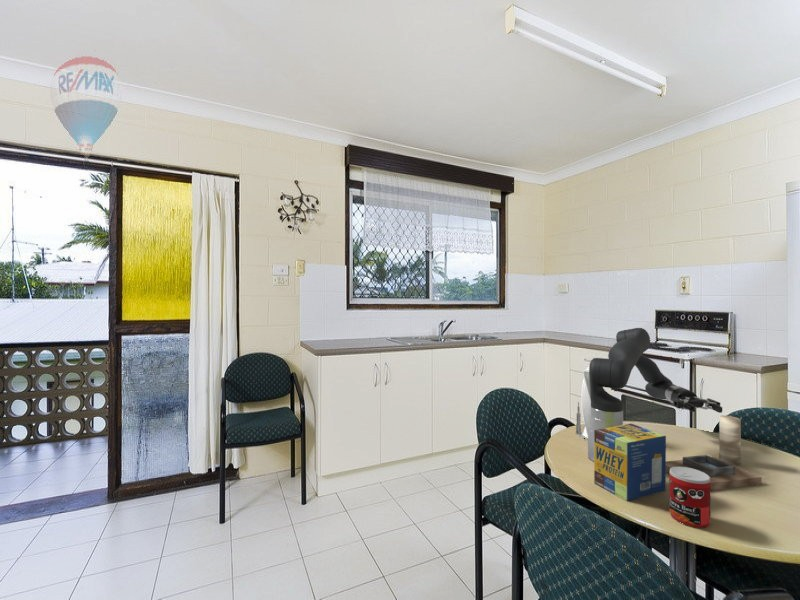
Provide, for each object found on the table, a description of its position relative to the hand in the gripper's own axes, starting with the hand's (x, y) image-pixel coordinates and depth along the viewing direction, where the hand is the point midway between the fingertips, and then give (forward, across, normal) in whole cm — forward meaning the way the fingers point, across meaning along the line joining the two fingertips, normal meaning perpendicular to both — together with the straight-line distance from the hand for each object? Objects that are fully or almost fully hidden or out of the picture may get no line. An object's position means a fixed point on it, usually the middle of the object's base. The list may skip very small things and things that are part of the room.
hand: (707, 409), depth 133 cm
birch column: (+12, 0, +13) cm, 18 cm away
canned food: (+49, -32, +13) cm, 60 cm away
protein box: (+34, -40, +13) cm, 54 cm away
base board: (+24, -14, +13) cm, 31 cm away
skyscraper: (-5, -37, +14) cm, 40 cm away
